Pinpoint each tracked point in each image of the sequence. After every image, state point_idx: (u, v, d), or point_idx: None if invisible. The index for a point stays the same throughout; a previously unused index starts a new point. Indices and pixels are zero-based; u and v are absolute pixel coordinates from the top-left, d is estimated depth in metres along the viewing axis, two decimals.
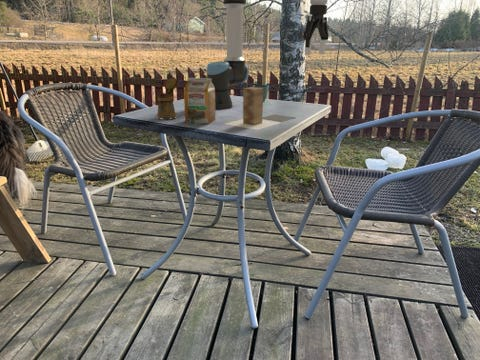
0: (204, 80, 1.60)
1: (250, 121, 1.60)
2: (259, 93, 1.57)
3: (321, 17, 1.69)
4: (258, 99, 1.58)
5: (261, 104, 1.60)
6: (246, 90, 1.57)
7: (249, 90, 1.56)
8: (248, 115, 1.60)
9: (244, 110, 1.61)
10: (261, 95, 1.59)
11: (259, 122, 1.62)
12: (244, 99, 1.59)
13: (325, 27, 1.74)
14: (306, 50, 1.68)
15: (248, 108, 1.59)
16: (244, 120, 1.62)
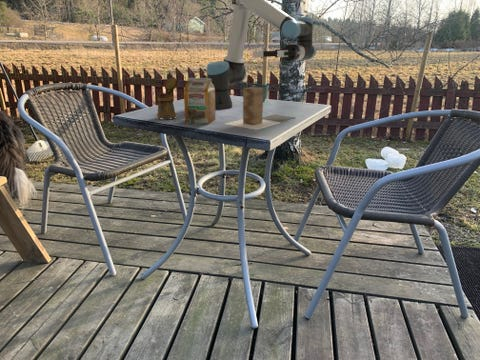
0: (204, 80, 1.60)
1: (250, 121, 1.60)
2: (259, 93, 1.57)
3: None
4: (258, 99, 1.58)
5: (261, 104, 1.60)
6: (246, 90, 1.57)
7: (249, 90, 1.56)
8: (248, 115, 1.60)
9: (244, 110, 1.61)
10: (261, 95, 1.59)
11: (259, 122, 1.62)
12: (244, 99, 1.59)
13: None
14: (282, 52, 1.57)
15: (248, 108, 1.59)
16: (244, 120, 1.62)
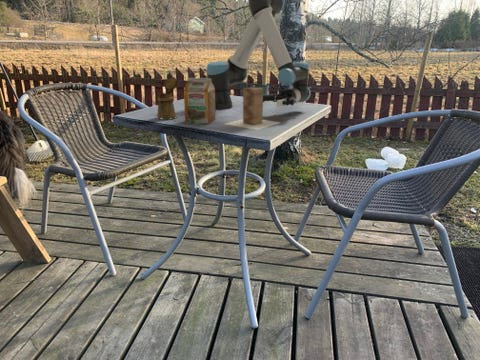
0: (204, 80, 1.60)
1: (250, 121, 1.60)
2: (259, 93, 1.57)
3: None
4: (258, 99, 1.58)
5: (261, 104, 1.60)
6: (246, 90, 1.57)
7: (249, 90, 1.56)
8: (248, 115, 1.60)
9: (244, 110, 1.61)
10: (261, 95, 1.59)
11: (259, 122, 1.62)
12: (244, 99, 1.59)
13: None
14: (280, 101, 1.63)
15: (248, 108, 1.59)
16: (244, 120, 1.62)
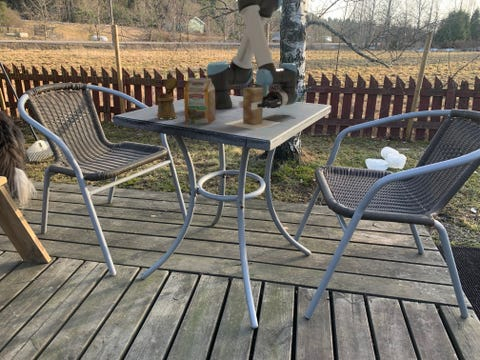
0: (204, 80, 1.60)
1: (250, 121, 1.60)
2: (259, 93, 1.57)
3: None
4: (258, 99, 1.58)
5: None
6: (246, 90, 1.57)
7: (249, 90, 1.56)
8: (248, 115, 1.60)
9: (244, 110, 1.61)
10: (261, 95, 1.59)
11: (259, 122, 1.62)
12: (244, 99, 1.59)
13: None
14: (255, 104, 1.56)
15: (248, 108, 1.59)
16: (244, 120, 1.62)
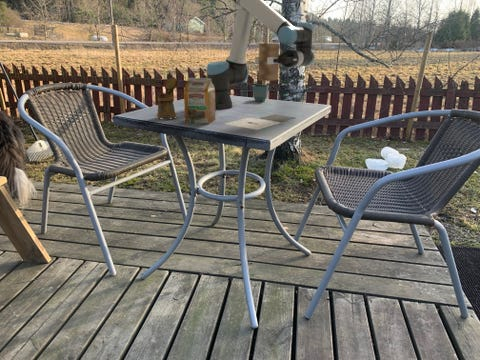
0: (204, 80, 1.60)
1: (266, 77, 1.59)
2: (275, 48, 1.56)
3: None
4: (274, 55, 1.57)
5: None
6: (262, 45, 1.56)
7: (265, 45, 1.55)
8: (264, 70, 1.59)
9: (260, 66, 1.60)
10: (277, 50, 1.58)
11: (275, 78, 1.61)
12: (260, 54, 1.58)
13: None
14: (271, 59, 1.55)
15: (263, 64, 1.58)
16: (260, 76, 1.61)
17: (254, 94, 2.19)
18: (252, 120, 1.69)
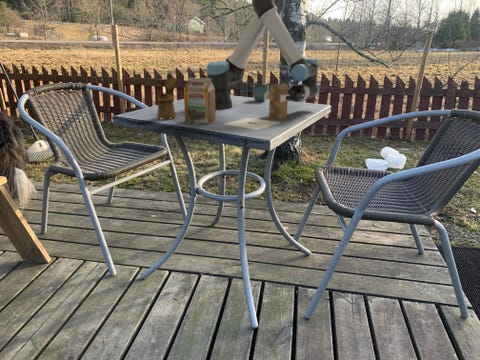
0: (204, 80, 1.60)
1: (276, 115, 1.71)
2: (285, 89, 1.69)
3: None
4: None
5: None
6: (273, 86, 1.68)
7: (275, 86, 1.67)
8: (274, 109, 1.71)
9: (270, 105, 1.72)
10: (286, 91, 1.70)
11: (284, 117, 1.73)
12: (270, 95, 1.70)
13: None
14: (284, 96, 1.66)
15: (274, 104, 1.70)
16: (270, 115, 1.73)
17: (254, 94, 2.19)
18: (252, 120, 1.69)
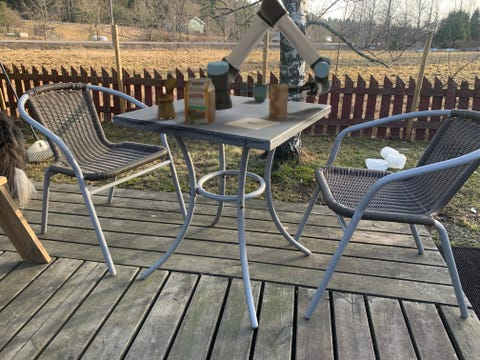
0: (204, 80, 1.60)
1: (276, 115, 1.71)
2: (285, 89, 1.69)
3: None
4: (284, 95, 1.69)
5: (286, 100, 1.72)
6: (273, 86, 1.68)
7: (276, 86, 1.67)
8: (274, 109, 1.71)
9: (270, 105, 1.72)
10: (286, 91, 1.70)
11: (284, 117, 1.73)
12: (270, 95, 1.70)
13: None
14: (305, 92, 1.75)
15: (274, 104, 1.70)
16: (270, 115, 1.73)
17: (254, 94, 2.19)
18: (252, 120, 1.69)
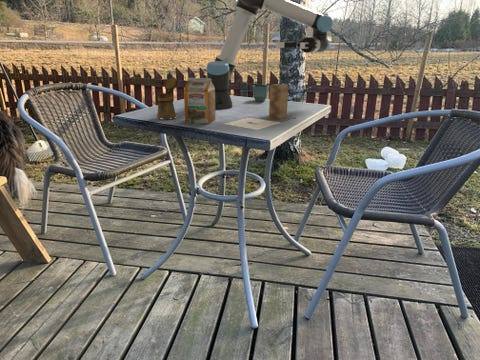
0: (204, 80, 1.60)
1: (276, 115, 1.71)
2: (285, 89, 1.69)
3: None
4: (284, 95, 1.69)
5: (286, 100, 1.72)
6: (273, 86, 1.68)
7: (276, 86, 1.67)
8: (274, 109, 1.71)
9: (270, 105, 1.72)
10: (286, 91, 1.70)
11: (284, 117, 1.73)
12: (270, 95, 1.70)
13: None
14: (303, 44, 1.75)
15: (274, 104, 1.70)
16: (270, 115, 1.73)
17: (254, 94, 2.19)
18: (252, 120, 1.69)
